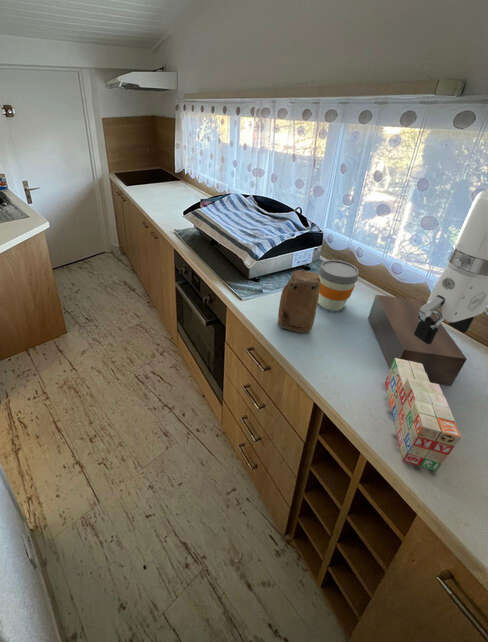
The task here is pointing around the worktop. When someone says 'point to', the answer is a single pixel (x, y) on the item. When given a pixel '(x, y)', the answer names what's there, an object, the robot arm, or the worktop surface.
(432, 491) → the worktop surface
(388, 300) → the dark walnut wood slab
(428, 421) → the stack of blocks
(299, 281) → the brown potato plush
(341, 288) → the reusable coffee cup
